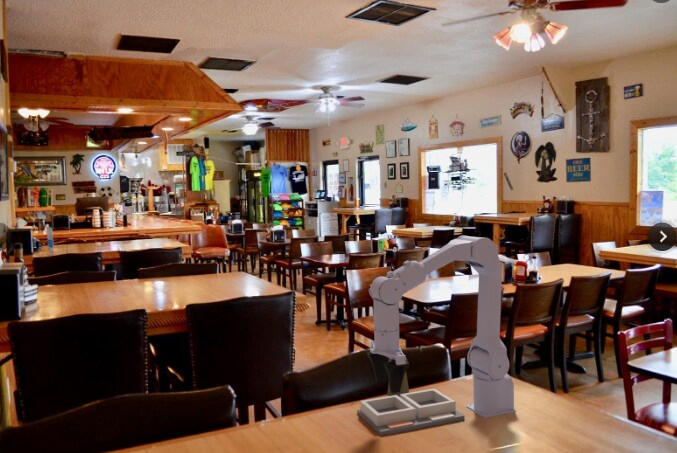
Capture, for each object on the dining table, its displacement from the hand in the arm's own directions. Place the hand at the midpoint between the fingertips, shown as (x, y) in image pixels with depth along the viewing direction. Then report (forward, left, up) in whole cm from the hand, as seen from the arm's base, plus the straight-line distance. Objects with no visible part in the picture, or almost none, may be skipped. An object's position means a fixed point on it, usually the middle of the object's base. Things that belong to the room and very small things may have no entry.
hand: (388, 386), depth 128 cm
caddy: (-7, -4, -10) cm, 13 cm away
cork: (-11, -18, -10) cm, 24 cm away
